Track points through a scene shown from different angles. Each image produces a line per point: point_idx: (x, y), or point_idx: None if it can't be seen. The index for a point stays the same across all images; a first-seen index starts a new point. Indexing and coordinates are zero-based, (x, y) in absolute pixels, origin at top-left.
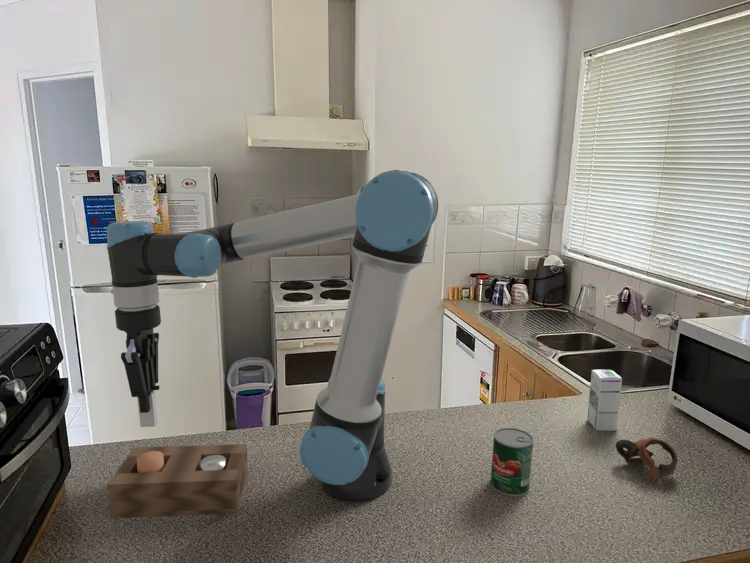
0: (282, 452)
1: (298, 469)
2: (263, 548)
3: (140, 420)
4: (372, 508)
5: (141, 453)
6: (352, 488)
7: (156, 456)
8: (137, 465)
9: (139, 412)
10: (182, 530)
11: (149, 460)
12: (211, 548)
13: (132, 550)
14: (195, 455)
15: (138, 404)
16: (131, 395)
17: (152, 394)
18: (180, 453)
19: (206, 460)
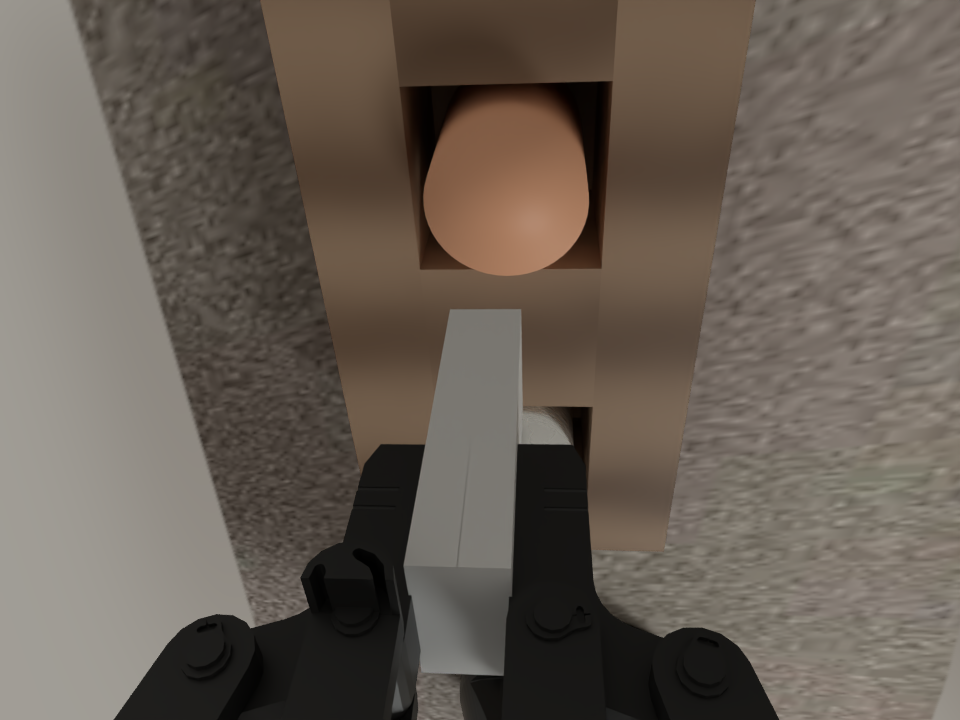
0: (786, 526)
1: (648, 567)
2: (251, 510)
3: (442, 353)
4: (435, 686)
5: (650, 74)
6: (461, 699)
7: (514, 239)
8: (455, 130)
9: (433, 405)
10: (289, 297)
11: (467, 213)
12: (221, 397)
13: (147, 154)
14: (584, 383)
15: (423, 470)
16: (165, 648)
17: (439, 668)
18: (614, 311)
19: (523, 438)
